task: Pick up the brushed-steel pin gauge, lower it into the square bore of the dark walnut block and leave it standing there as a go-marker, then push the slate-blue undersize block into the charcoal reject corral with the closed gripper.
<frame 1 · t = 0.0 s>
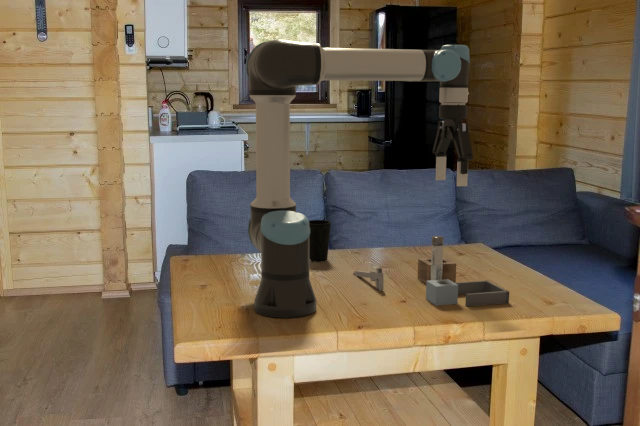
hand: (450, 183, 208), 28 cm above the table, fingers open, 13 cm apart
reject corral: (477, 298, 198), on the table
pin gauge: (435, 292, 203), on the table
bore block: (436, 281, 215), on the table
caliper: (367, 283, 214), on the table
cup: (318, 260, 241), on the table
undersize block: (441, 301, 195), on the table
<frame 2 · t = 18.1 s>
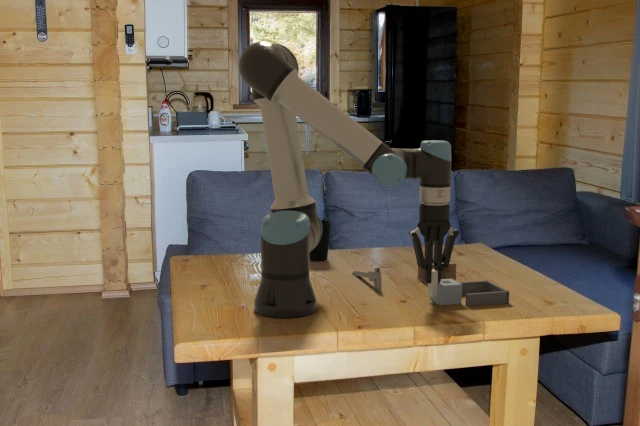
hand: (432, 295, 194), 2 cm above the table, fingers closed
pin gauge: (436, 278, 215), point 1 cm above the table, touching bore block
bore block: (436, 282, 215), on the table, touching pin gauge
undersize block: (445, 301, 195), on the table
everything else where it was.
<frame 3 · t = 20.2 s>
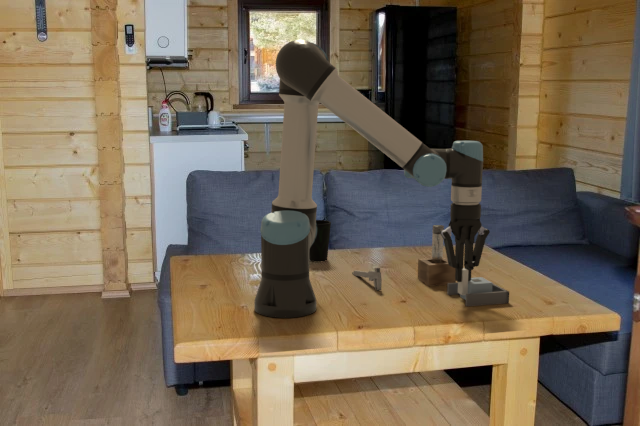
hand: (462, 293, 196), 2 cm above the table, fingers closed
undersize block: (475, 299, 197), on the table
everything else where it was.
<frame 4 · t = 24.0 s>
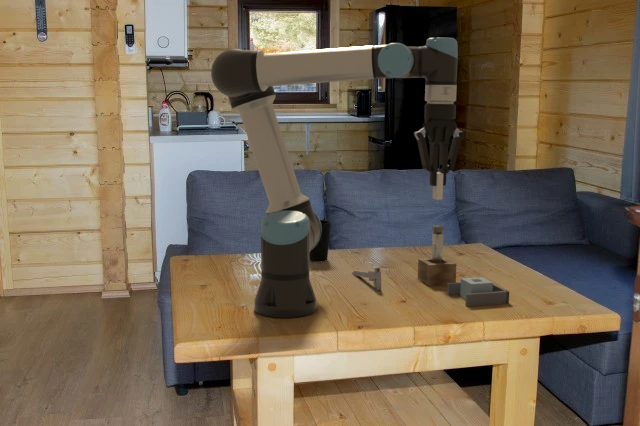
hand: (437, 198, 190), 26 cm above the table, fingers closed
nothing on the table moved.
at the end: pin gauge 0.0 cm off-centre on the bore block, point 1.0 cm above the bore block's base; undersize block 0.4 cm off-centre on the reject corral, point 0.0 cm above the reject corral's base; the gripper is holding nothing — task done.
